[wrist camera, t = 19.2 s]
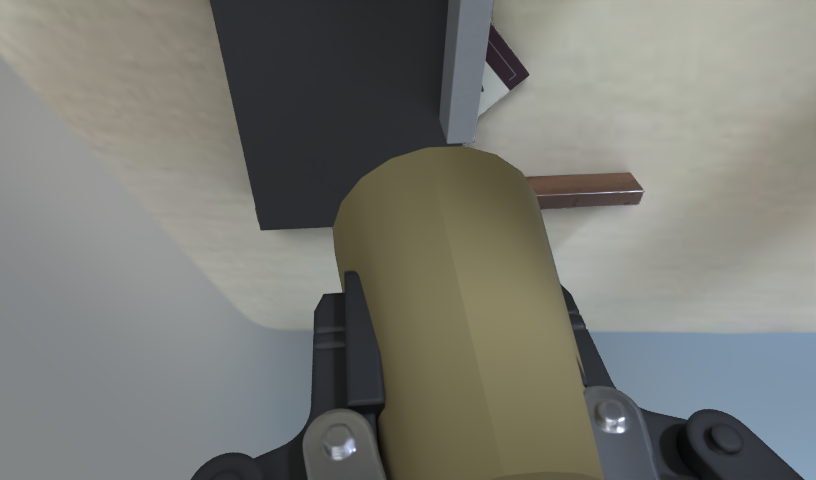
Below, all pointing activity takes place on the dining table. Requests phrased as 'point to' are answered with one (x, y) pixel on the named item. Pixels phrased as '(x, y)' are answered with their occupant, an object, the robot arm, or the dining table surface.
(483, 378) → the cork
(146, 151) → the dining table surface
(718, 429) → the robot arm
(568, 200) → the rails
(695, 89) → the dining table surface
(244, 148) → the lid
